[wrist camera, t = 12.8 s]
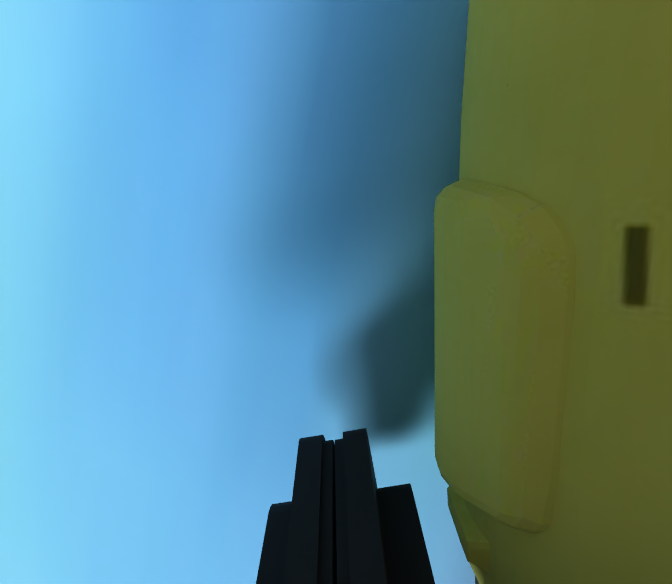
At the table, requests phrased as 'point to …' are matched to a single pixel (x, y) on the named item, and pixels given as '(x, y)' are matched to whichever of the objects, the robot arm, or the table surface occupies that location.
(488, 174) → the cordless drill
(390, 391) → the table surface
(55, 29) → the table surface
